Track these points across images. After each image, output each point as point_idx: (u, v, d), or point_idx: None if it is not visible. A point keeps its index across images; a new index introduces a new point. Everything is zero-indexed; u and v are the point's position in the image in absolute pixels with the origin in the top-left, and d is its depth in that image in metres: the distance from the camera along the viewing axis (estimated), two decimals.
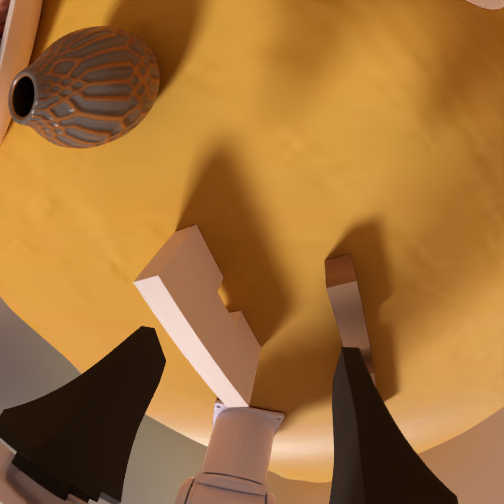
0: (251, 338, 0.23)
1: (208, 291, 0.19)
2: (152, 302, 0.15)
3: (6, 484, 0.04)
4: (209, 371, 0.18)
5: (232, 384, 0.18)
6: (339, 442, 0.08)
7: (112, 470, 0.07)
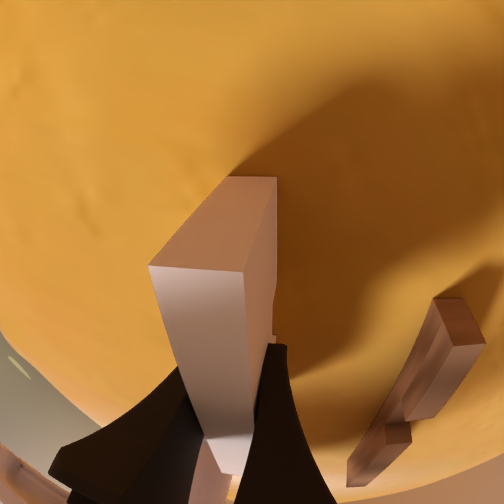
0: None
1: (269, 307, 0.10)
2: (181, 326, 0.06)
3: (6, 484, 0.04)
4: (231, 444, 0.09)
5: None
6: None
7: (181, 494, 0.07)
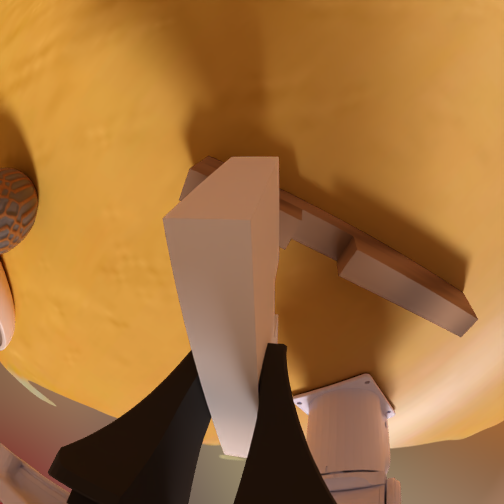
0: None
1: (272, 278, 0.10)
2: (190, 280, 0.06)
3: (6, 484, 0.04)
4: (234, 417, 0.09)
5: None
6: None
7: (181, 494, 0.07)
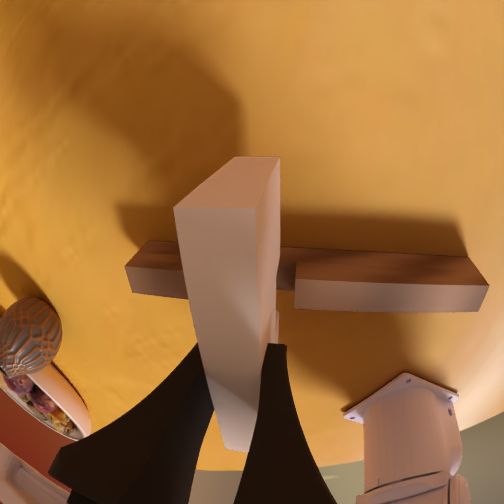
0: None
1: (273, 272, 0.11)
2: (197, 267, 0.07)
3: (6, 484, 0.04)
4: (237, 408, 0.10)
5: None
6: None
7: (181, 494, 0.07)
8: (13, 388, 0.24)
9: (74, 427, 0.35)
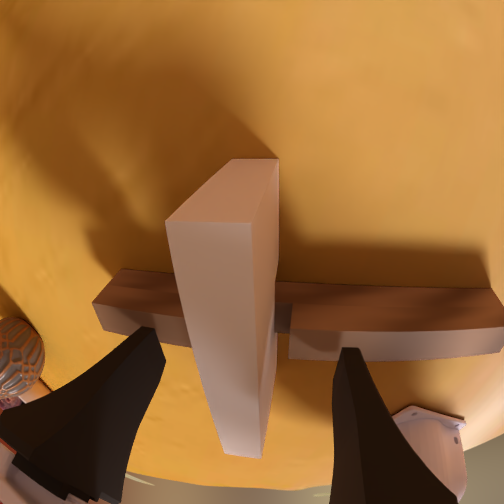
0: (275, 356, 0.15)
1: (272, 279, 0.10)
2: (192, 282, 0.07)
3: (6, 484, 0.04)
4: (235, 416, 0.09)
5: (260, 436, 0.10)
6: (339, 442, 0.08)
7: (112, 470, 0.07)
8: (1, 405, 0.21)
9: None
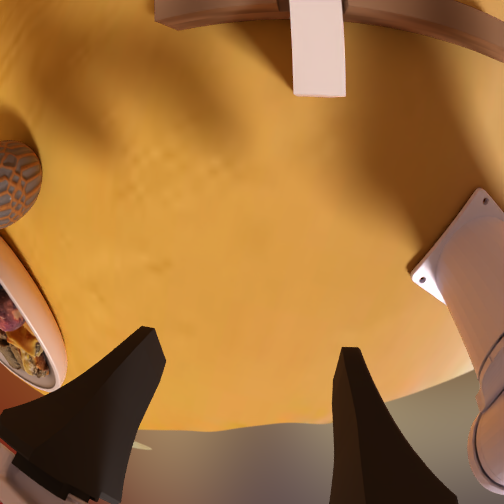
0: None
1: None
2: None
3: (6, 484, 0.04)
4: None
5: (342, 20, 0.07)
6: (339, 442, 0.08)
7: (112, 470, 0.07)
8: None
9: (47, 368, 0.29)
